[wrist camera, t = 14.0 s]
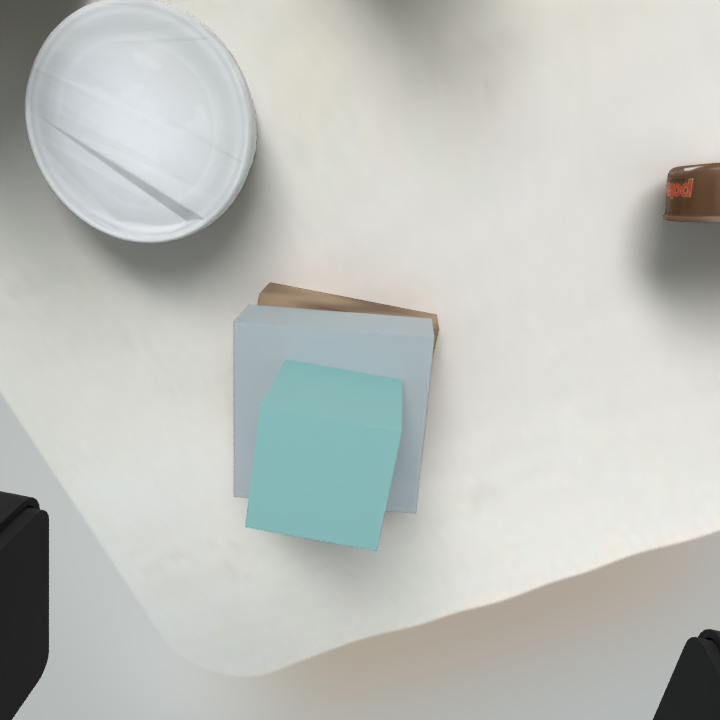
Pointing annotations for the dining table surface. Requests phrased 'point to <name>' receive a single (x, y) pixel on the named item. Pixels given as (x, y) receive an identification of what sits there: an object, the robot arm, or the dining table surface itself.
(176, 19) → the ramekin
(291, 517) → the teal block
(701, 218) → the tin
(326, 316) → the slate tile
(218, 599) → the dining table surface
